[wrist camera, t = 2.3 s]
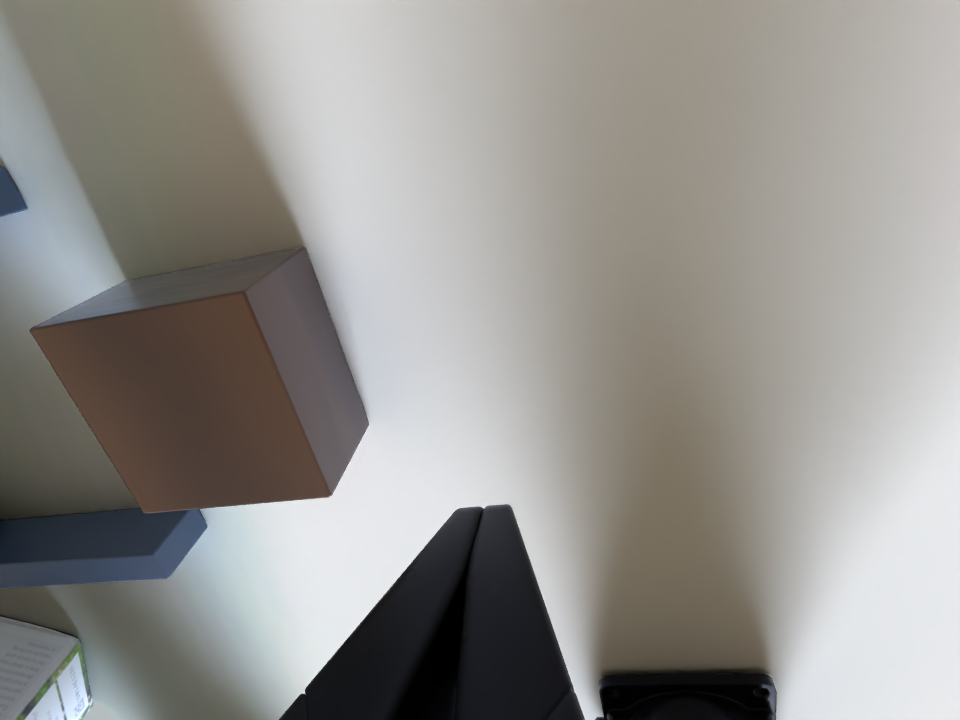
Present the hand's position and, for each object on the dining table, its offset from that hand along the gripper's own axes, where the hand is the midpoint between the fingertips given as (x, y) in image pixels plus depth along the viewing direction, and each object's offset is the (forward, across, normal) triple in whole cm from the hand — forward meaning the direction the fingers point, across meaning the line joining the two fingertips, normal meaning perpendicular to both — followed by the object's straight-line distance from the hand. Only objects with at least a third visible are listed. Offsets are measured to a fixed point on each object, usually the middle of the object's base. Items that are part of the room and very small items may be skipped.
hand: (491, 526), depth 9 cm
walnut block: (+8, +8, 0) cm, 12 cm away
